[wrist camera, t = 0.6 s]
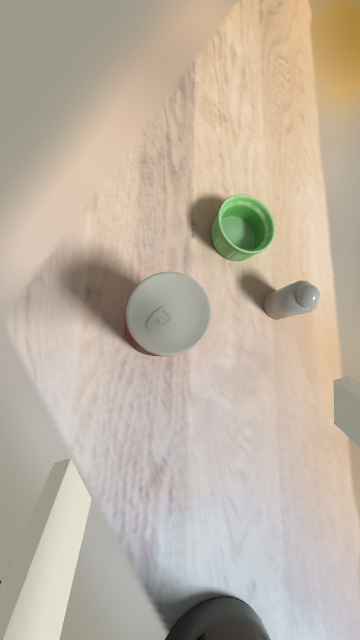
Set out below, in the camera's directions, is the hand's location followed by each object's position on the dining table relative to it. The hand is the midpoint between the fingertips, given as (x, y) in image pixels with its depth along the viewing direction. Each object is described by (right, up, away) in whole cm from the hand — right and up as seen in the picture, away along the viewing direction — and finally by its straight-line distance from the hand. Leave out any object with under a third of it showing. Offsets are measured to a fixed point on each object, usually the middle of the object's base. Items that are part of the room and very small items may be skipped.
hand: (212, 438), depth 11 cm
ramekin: (+7, +19, +25) cm, 32 cm away
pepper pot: (+14, +8, +25) cm, 29 cm away
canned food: (-5, +5, +20) cm, 21 cm away
